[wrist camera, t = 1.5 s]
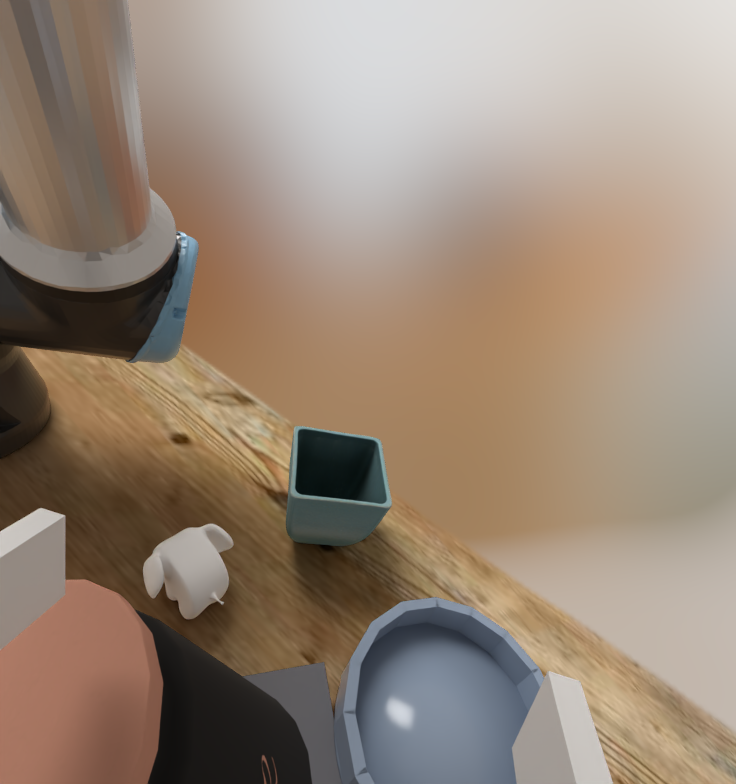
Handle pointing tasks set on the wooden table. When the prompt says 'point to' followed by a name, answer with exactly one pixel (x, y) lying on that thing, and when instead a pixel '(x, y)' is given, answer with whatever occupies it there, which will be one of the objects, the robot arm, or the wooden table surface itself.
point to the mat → (307, 713)
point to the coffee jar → (133, 705)
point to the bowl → (433, 698)
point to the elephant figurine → (190, 568)
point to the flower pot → (335, 487)
